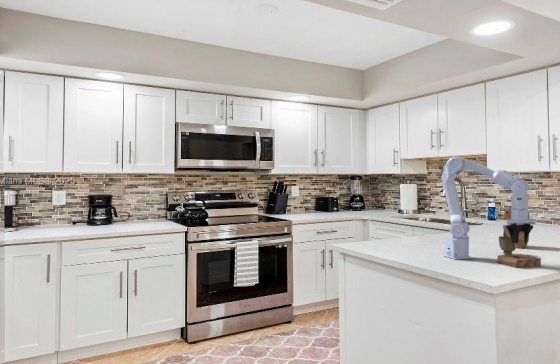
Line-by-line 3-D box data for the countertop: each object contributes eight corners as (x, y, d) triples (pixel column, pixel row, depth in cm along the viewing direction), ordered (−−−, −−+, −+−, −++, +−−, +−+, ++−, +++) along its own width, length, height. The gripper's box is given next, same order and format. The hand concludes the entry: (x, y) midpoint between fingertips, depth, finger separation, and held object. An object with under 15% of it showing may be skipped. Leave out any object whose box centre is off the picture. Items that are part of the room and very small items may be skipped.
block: (530, 247, 188) (531, 207, 188) (520, 249, 185) (521, 208, 185) (509, 244, 198) (510, 206, 198) (500, 245, 195) (500, 206, 194)
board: (516, 267, 146) (516, 260, 146) (497, 262, 155) (497, 255, 155) (540, 266, 150) (540, 258, 149) (520, 261, 158) (521, 254, 158)
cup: (499, 252, 177) (500, 235, 177) (518, 254, 172) (518, 236, 172) (496, 254, 171) (497, 237, 171) (515, 256, 167) (516, 238, 166)
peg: (519, 248, 150) (519, 232, 150) (511, 246, 153) (511, 231, 153) (526, 247, 151) (526, 231, 151) (518, 246, 155) (518, 230, 154)
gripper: (513, 210, 146) (512, 245, 146) (542, 209, 150) (542, 243, 150) (498, 208, 153) (498, 242, 153) (527, 208, 157) (526, 240, 157)
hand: (519, 242), depth 152 cm, fingers closed on peg, 4 cm apart
